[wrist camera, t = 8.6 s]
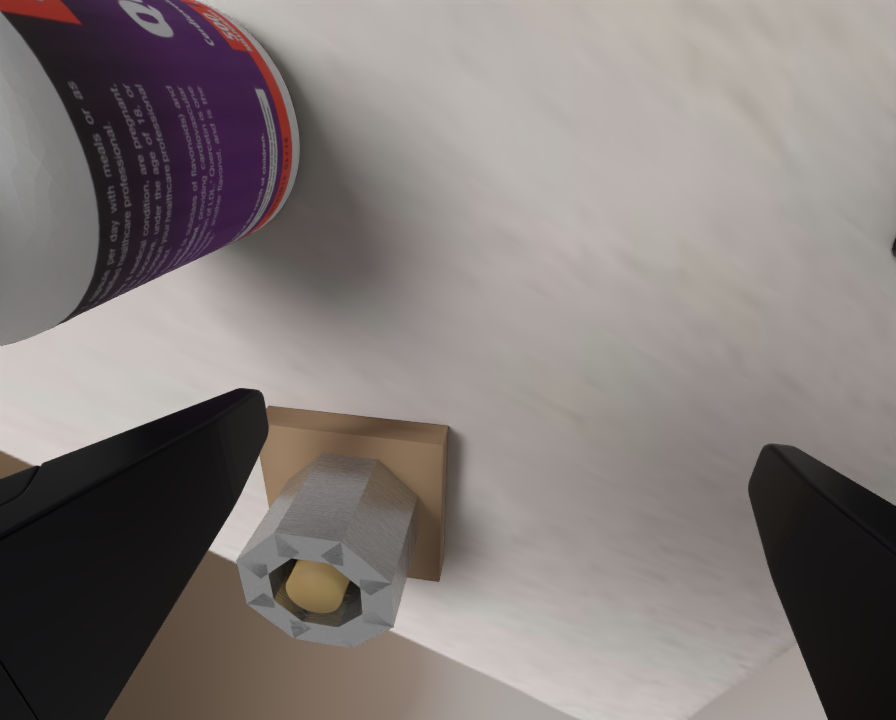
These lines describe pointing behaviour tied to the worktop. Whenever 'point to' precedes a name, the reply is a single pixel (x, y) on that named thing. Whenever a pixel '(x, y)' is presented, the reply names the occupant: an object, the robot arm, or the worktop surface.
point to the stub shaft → (390, 441)
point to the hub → (335, 548)
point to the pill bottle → (129, 148)
